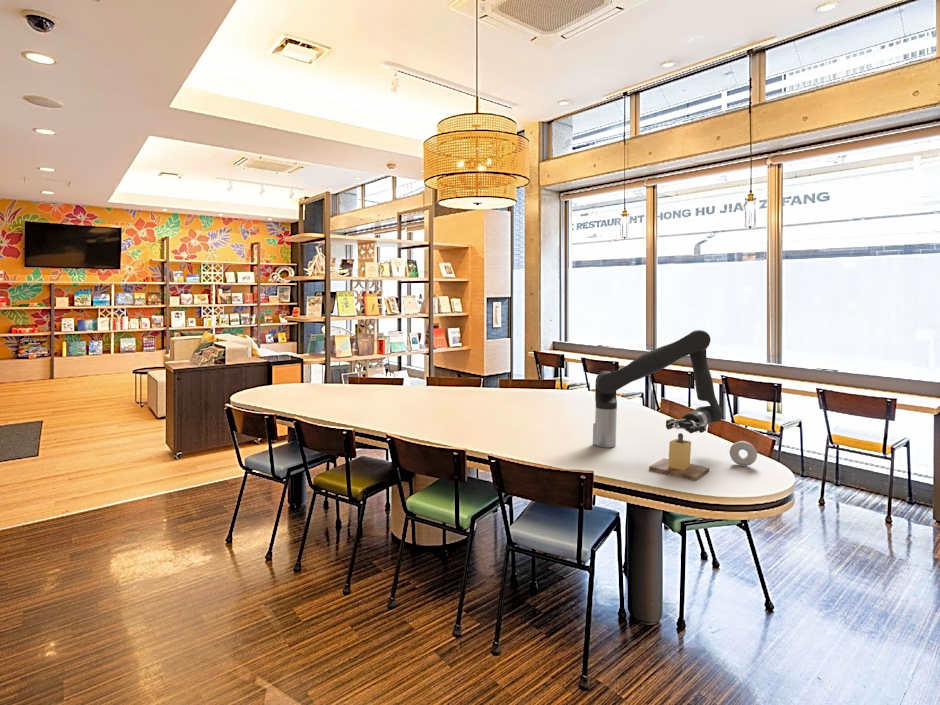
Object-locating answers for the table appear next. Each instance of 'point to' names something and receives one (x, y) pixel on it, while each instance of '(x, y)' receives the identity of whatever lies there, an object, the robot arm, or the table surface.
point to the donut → (747, 447)
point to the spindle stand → (690, 473)
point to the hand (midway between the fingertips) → (679, 428)
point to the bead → (679, 454)
